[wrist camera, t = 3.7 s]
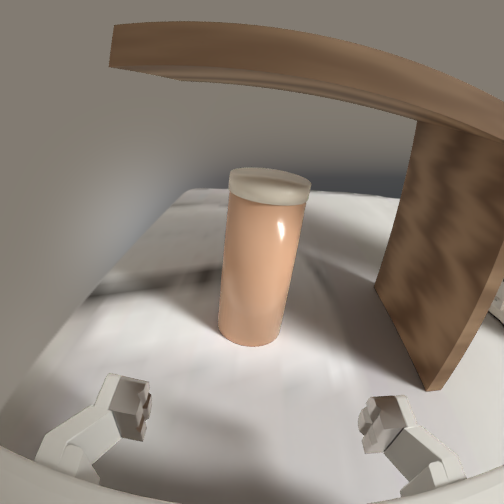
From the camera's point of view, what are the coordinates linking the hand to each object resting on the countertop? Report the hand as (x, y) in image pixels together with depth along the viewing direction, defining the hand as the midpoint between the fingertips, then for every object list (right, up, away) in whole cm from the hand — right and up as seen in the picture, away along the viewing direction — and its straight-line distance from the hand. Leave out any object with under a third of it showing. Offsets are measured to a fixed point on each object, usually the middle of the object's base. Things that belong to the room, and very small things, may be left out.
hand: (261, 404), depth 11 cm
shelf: (+3, -1, +16) cm, 16 cm away
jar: (-1, 0, +15) cm, 15 cm away
